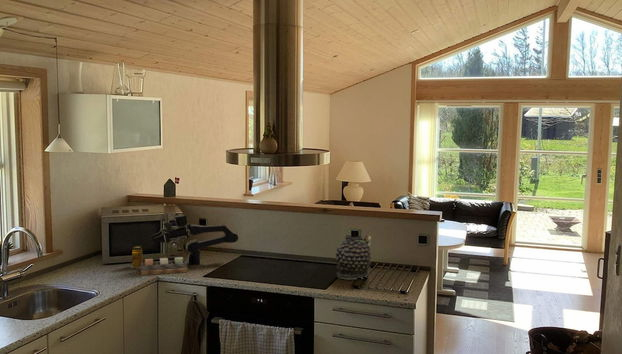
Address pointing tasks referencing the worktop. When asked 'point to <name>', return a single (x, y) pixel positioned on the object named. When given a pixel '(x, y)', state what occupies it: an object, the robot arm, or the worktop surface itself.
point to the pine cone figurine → (353, 257)
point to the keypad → (163, 268)
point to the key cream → (163, 261)
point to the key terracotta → (148, 262)
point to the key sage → (178, 260)
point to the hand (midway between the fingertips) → (151, 238)
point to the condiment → (137, 257)
